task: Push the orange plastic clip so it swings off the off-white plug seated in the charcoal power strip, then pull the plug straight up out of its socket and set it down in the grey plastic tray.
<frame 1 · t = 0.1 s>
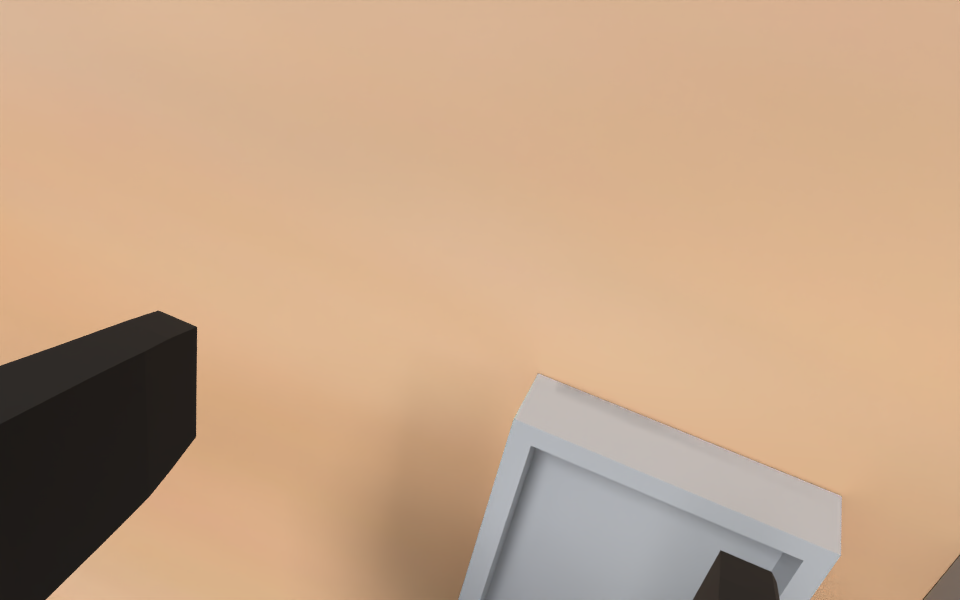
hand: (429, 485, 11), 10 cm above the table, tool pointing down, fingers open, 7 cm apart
tray: (606, 598, 25), on the table
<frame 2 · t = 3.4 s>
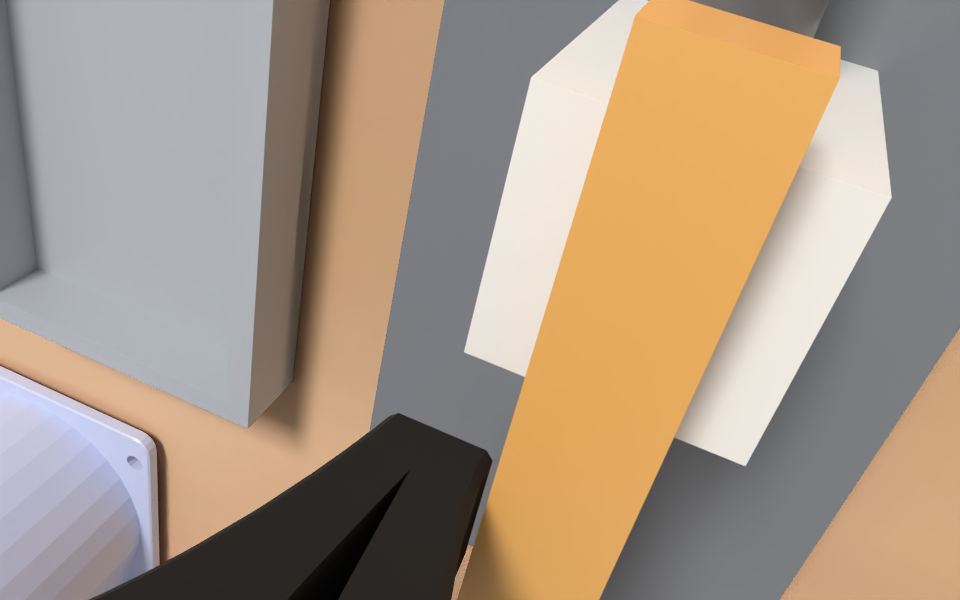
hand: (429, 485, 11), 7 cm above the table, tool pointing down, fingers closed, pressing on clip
tray: (154, 69, 18), on the table
clip: (590, 435, 12), point 5 cm above the table, hinge at 0.0°, touching gripper
plug: (716, 117, 14), touching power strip
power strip: (663, 255, 16), on the table
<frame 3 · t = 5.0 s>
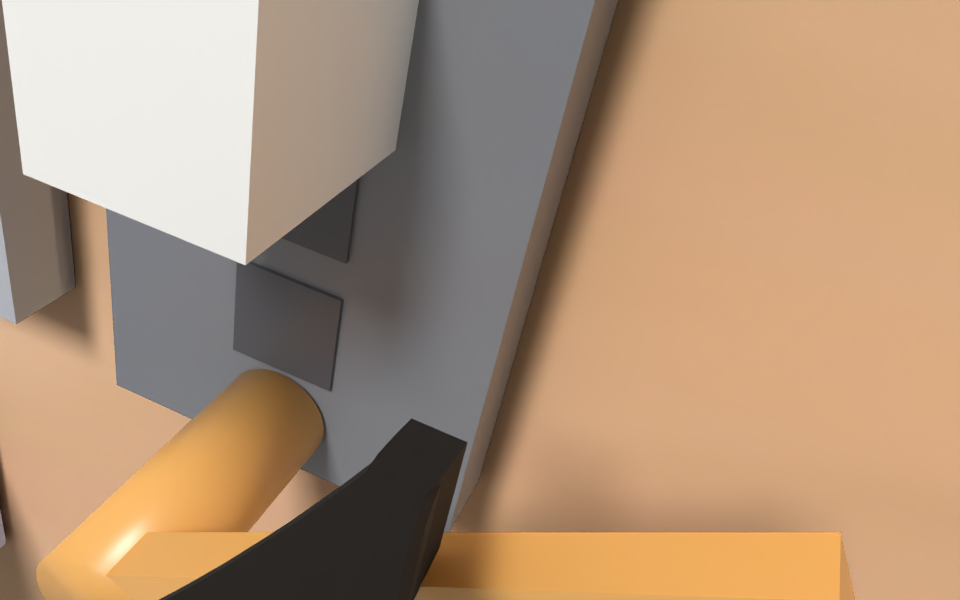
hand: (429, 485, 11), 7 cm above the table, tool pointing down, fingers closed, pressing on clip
clip: (428, 491, 14), point 5 cm above the table, hinge at -57.4°, touching gripper
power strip: (351, 141, 17), on the table
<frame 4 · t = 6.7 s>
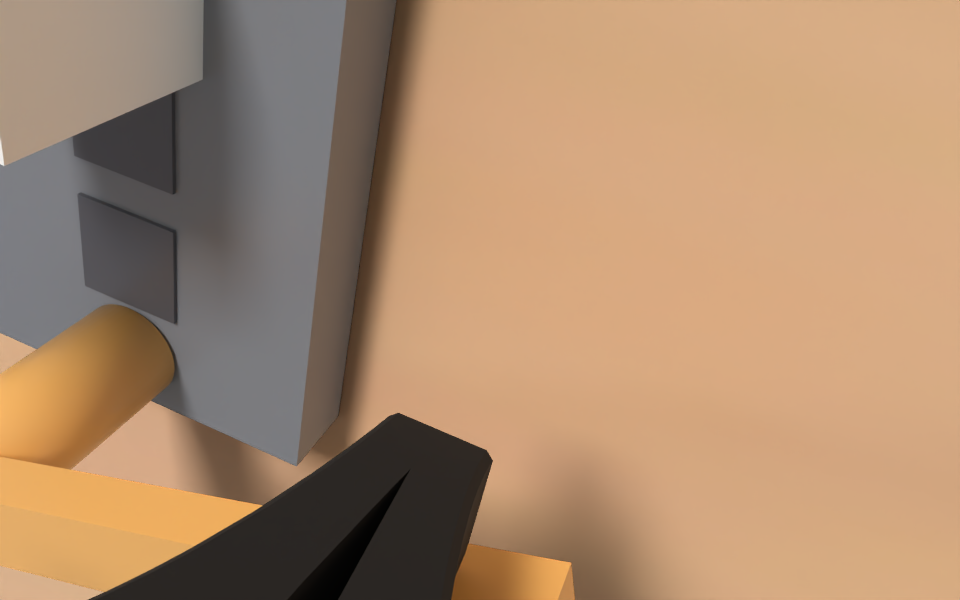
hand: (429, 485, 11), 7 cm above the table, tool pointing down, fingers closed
clip: (252, 456, 15), point 5 cm above the table, hinge at -70.3°
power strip: (188, 81, 18), on the table
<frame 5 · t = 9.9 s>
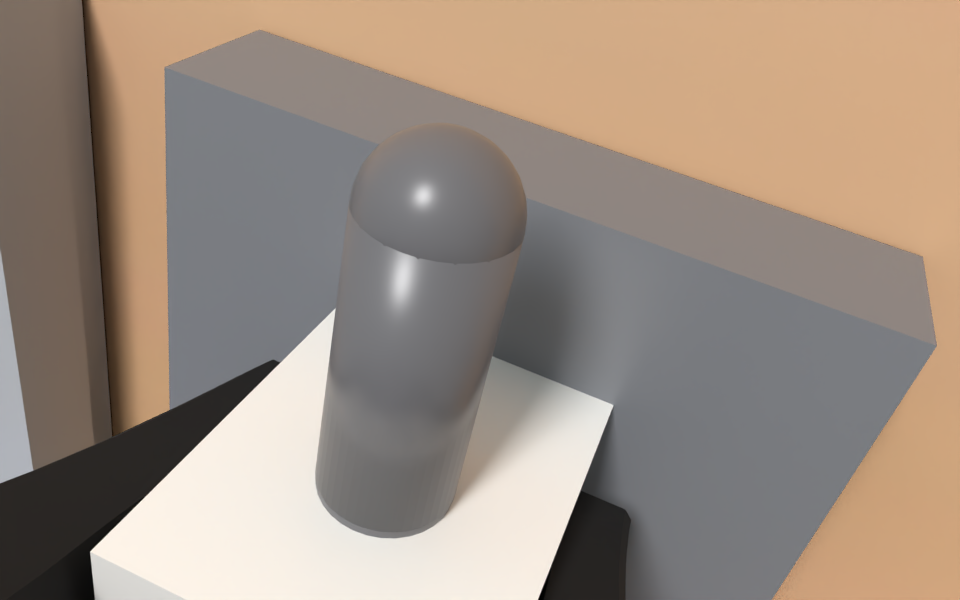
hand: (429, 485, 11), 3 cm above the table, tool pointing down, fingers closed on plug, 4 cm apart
plug: (488, 389, 13), touching gripper, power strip
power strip: (463, 500, 15), on the table
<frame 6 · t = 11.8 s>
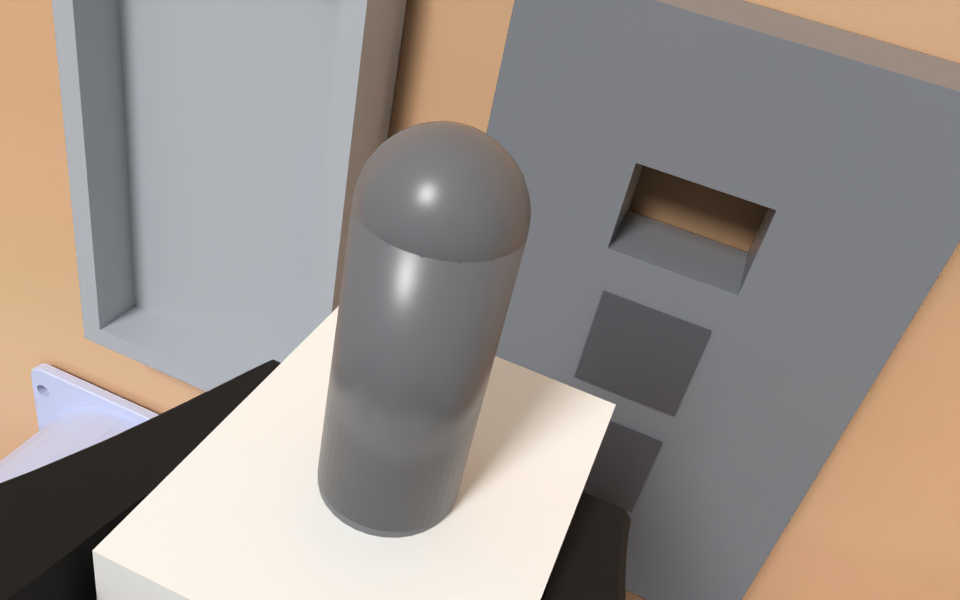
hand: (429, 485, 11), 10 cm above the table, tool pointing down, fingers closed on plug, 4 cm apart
tray: (244, 148, 22), on the table
plug: (489, 388, 13), point 8 cm above the table, touching gripper
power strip: (659, 302, 20), on the table
when the fingers open (4 cm above the table, at t = 13.9 s): plug drops 2 cm, resting on tray.
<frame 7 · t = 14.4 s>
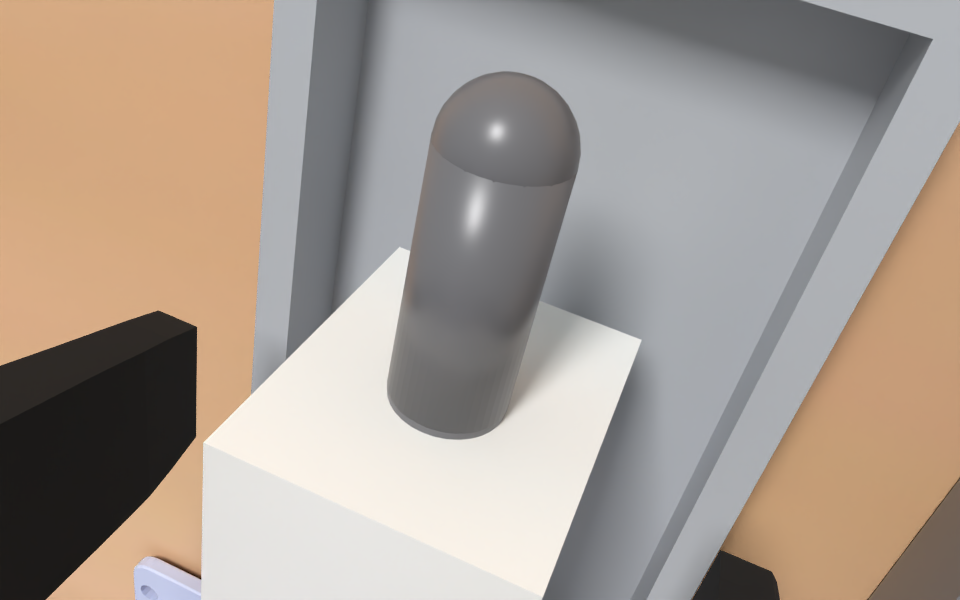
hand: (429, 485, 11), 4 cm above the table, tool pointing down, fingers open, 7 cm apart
tray: (529, 322, 14), on the table
plug: (521, 337, 14), resting on tray
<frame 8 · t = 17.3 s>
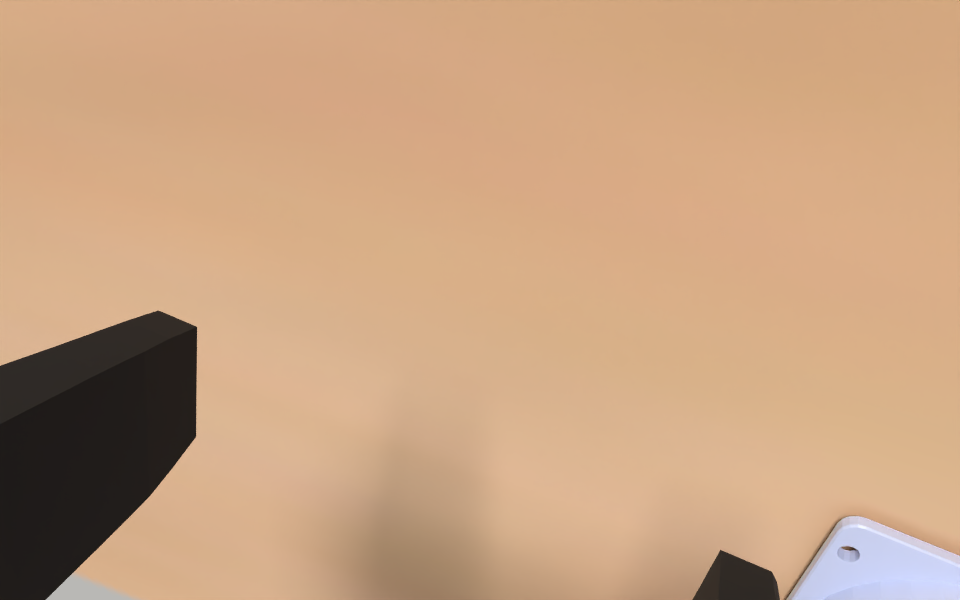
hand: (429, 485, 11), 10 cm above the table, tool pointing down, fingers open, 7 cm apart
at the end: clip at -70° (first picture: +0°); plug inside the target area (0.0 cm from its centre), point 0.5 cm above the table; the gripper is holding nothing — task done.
